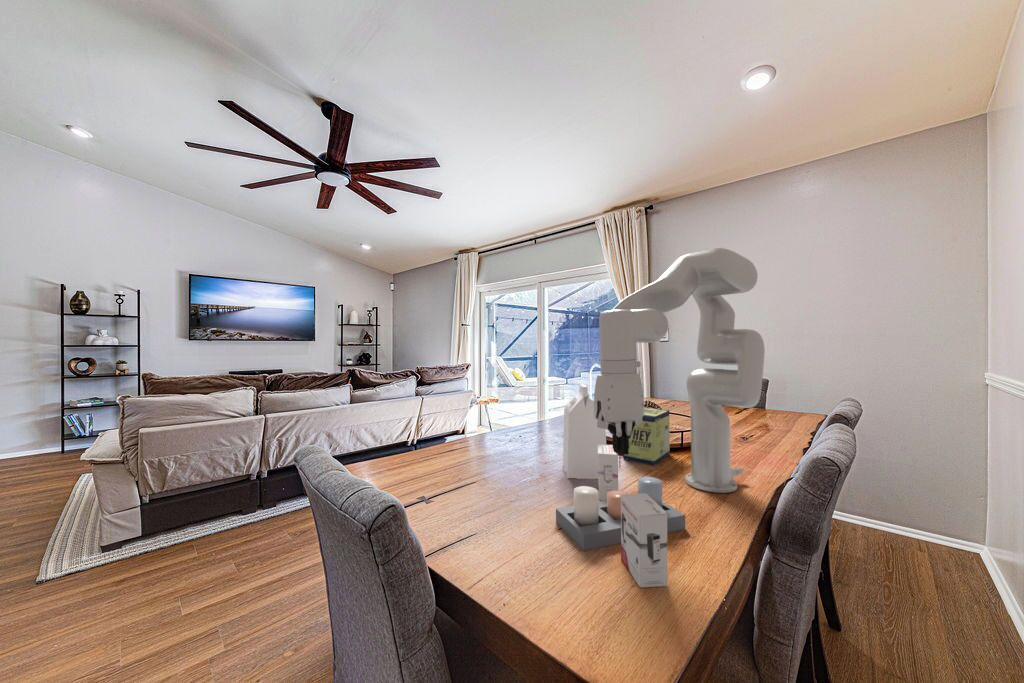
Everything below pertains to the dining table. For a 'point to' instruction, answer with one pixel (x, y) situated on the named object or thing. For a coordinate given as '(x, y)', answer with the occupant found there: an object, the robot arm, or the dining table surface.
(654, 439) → the protein box
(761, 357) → the robot arm
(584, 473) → the milk
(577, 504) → the button cream
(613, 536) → the gray compartment tray
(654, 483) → the button slate
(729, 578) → the dining table surface
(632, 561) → the ink box
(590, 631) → the dining table surface
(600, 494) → the ink cartridge box
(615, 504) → the peach cylinder
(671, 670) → the dining table surface
